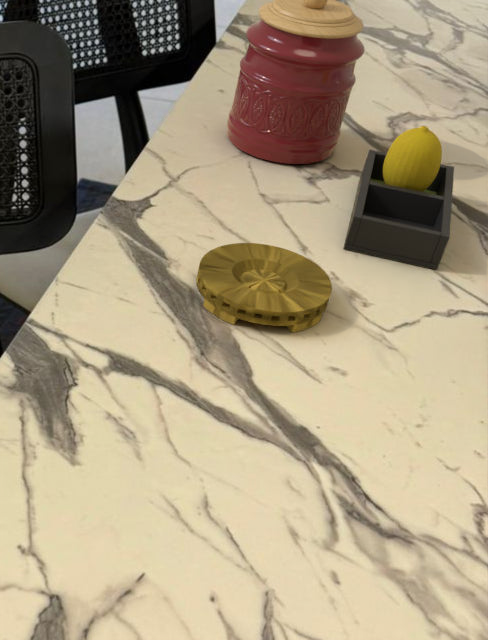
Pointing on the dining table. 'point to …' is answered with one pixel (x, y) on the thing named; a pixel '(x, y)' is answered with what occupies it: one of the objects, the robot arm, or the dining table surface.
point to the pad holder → (400, 217)
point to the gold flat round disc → (263, 286)
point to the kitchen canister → (295, 80)
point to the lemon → (413, 160)
